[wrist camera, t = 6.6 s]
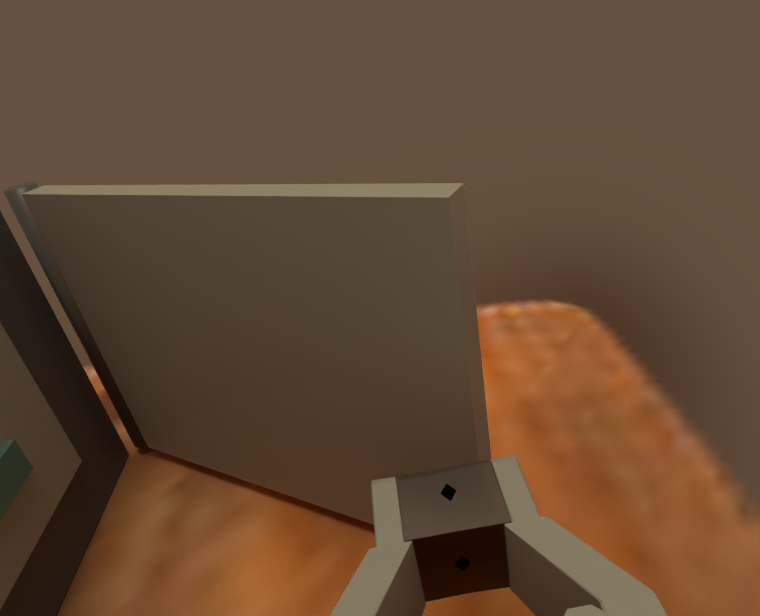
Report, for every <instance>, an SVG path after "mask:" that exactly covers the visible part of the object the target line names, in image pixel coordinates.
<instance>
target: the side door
mask: <svg viewBox="0 0 760 616" xmlns="http://www.w3.org/2000/svg"><path fill="white" fill-rule="evenodd" d="M3 193H4V195H5V196H6V199H7V200H8V202H9V204H10V206H11V208H12V210H13V212H14V214H15V216H16V218H17V220H18V222H19V224H20V226H21V227H22V229H23V231H24V233H25V235H26V237H27V239H28V241H29V243H30V245H31V247H32V249H33V251H34V253H35V255H36V257H37V258H38V260H39V262H40V264H41V266H42V268H43V270H44V272H45V274H46V276H47V278H48V280H49V281H50V284H51V286H52V288H53V289H54V291H55V293H56V295H57V297H58V299H59V301H60V303H61V305H62V307H63V309H64V311H65V312H66V314H67V316H68V318H69V320H70V322H71V324H72V326H73V328H74V330H75V332H76V334H77V336H78V338H79V340H80V342H81V344H82V346H83V347H84V349H85V351H86V353H87V355H88V357H89V359H90V361H91V363H92V365H93V367H94V369H95V371H96V373H97V375H98V377H99V378H100V380H101V382H102V384H103V386H104V388H105V390H106V392H107V394H108V396H109V398H110V400H111V402H112V404H113V406H114V407H115V409H116V411H117V413H118V415H119V417H120V419H121V421H122V423H123V425H124V427H125V429H126V431H127V433H128V435H129V436H130V438H131V440H132V442H133V444H134V446H135V447H145V446H148V448H151V449H154V450H157V451H160V452H163V453H166V454H169V455H172V456H175V457H178V458H180V459H183V460H186V461H189V462H192V463H195V464H198V465H201V466H204V467H207V468H210V469H212V470H215V471H218V472H221V473H224V474H227V475H230V476H233V477H236V478H239V479H242V480H244V481H247V482H250V483H253V484H256V485H259V486H262V487H265V488H268V489H271V490H274V491H276V492H279V493H282V494H285V495H288V496H291V497H294V498H297V499H300V500H303V501H306V502H308V503H311V504H314V505H317V506H320V507H323V508H326V509H329V510H332V511H335V512H338V513H340V514H343V515H346V516H349V517H352V518H355V519H358V520H361V521H364V522H367V523H370V524H372V525H374V517H373V505H372V492H371V484H372V480H377V479H384V478H390V477H396V476H400V475H406V474H413V473H419V472H425V471H432V470H438V469H442V468H447V467H452V466H457V465H462V464H468V463H473V462H478V461H483V460H490V459H491V451H490V441H489V431H488V421H487V411H486V401H485V391H484V381H483V371H482V361H481V351H480V341H479V331H478V321H477V311H476V302H475V291H474V281H473V271H472V262H471V251H470V242H469V233H468V232H469V231H468V223H467V222H468V221H467V211H466V201H465V191H464V184H463V183H451V184H450V183H449V184H448V183H446V184H445V183H441V184H440V183H438V184H437V183H435V184H434V183H433V184H267V185H266V184H255V185H254V184H250V185H248V184H246V185H73V186H71V185H66V186H64V185H63V186H42V187H39V188H38V186H37V184H36V182H27V183H23V184H19V185H16V186H13V187H10V188H7V189H5V190H4V191H3Z"/></svg>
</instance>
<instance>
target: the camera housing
mask: <svg viewBox="0 0 760 616" xmlns="http://www.w3.org/2000/svg"><path fill="white" fill-rule="evenodd" d="M128 455H129V454H128V452H127V450H126V448H125V446H124V444H123V442H122V440H121V439H120V437H119V435H118V433H117V431H116V429H115V427H114V425H113V423H112V422H111V420H110V418H109V416H108V414H107V412H106V410H105V408H104V406H103V404H102V403H101V401H100V399H99V397H98V395H97V393H96V391H95V389H94V387H93V386H92V384H91V382H90V380H89V378H88V376H87V374H86V372H85V370H84V369H83V367H82V365H81V363H80V361H79V359H78V357H77V355H76V353H75V352H74V350H73V348H72V346H71V344H70V342H69V340H68V338H67V337H66V334H65V333H64V331H63V329H62V327H61V325H60V323H59V321H58V319H57V318H56V316H55V314H54V312H53V310H52V308H51V306H50V304H49V302H48V300H47V299H46V297H45V295H44V293H43V291H42V289H41V287H40V285H39V283H38V282H37V280H36V278H35V276H34V274H33V272H32V270H31V268H30V266H29V265H28V263H27V261H26V259H25V257H24V255H23V253H22V251H21V249H20V247H19V246H18V244H17V242H16V240H15V238H14V236H13V234H12V232H11V230H10V229H9V227H8V225H7V223H6V221H5V219H4V217H3V215H2V213H1V211H0V616H56V614H57V612H58V610H59V608H60V605H61V603H62V601H63V599H64V597H65V594H66V592H67V590H68V588H69V585H70V583H71V581H72V579H73V577H74V574H75V572H76V570H77V568H78V566H79V563H80V561H81V559H82V557H83V554H84V552H85V550H86V548H87V546H88V543H89V541H90V539H91V537H92V535H93V532H94V530H95V528H96V526H97V523H98V521H99V519H100V517H101V515H102V512H103V510H104V508H105V506H106V504H107V501H108V499H109V497H110V495H111V492H112V490H113V488H114V486H115V484H116V481H117V479H118V477H119V475H120V473H121V470H122V468H123V466H124V464H125V461H126V459H127V457H128Z"/></svg>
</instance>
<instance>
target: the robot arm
mask: <svg viewBox="0 0 760 616" xmlns="http://www.w3.org/2000/svg"><path fill="white" fill-rule="evenodd" d="M371 492H372V505H373V517H374V530H375V543H376V547H374V548H370V549H368V551H367V553H366V554H365V556H364V558H363V559H362V561H361V563H360V565H359V566H358V568H357V570H356V571H355V573H354V575H353V577H352V578H351V580H350V582H349V583H348V585H347V587H346V589H345V590H344V592H343V594H342V595H341V597H340V599H339V601H338V602H337V604H336V606H335V607H334V609H333V611H332V613H331V614H330V616H422V614H423V611H424V609H425V606H426V603H425V602H428V601H433V600H437V599H442V598H447V597H452V596H457V595H461V594H466V593H473V592H479V591H486V590H493V589H500V588H506V587H510V589H511V590H512V591H513V592H514V593H515V594H516V595H517V596H518V597H519V598H520V600H521V601H522V602H523V603H524V604H525V605H526V606H527V607H528V608H529V609H530V610H531V611H532V612H533V613H534V614H535V615H536V616H667V615H666V613H665V611H664V609H663V607H662V605H661V604H660V602H659V600H658V598H657V596H656V595H655V593H654V591H652V590H651V589H649V588H648V587H647V586H645V585H644V584H642V583H641V582H640V581H638V580H637V579H635V578H634V577H633V576H631V575H630V574H628V573H627V572H625V571H624V570H623V569H621V568H620V567H618V566H617V565H616V564H614V563H613V562H611V561H610V560H609V559H607V558H606V557H604V556H603V555H602V554H600V553H599V552H597V551H596V550H595V549H593V548H592V547H590V546H589V545H588V544H586V543H585V542H583V541H582V540H581V539H579V538H578V537H576V536H575V535H574V534H572V533H571V532H569V531H568V530H567V529H565V528H564V527H562V526H561V525H560V524H558V523H557V522H555V521H554V520H552V519H551V518H550V517H540V514H539V512H538V509H537V507H536V505H535V502H534V500H533V497H532V495H531V492H530V490H529V487H528V485H527V483H526V480H525V478H524V475H523V473H522V470H521V468H520V466H519V463H518V461H517V458H516V457H515V456H514V455H510V456H504V457H499V458H494V459H490V460H483V461H478V462H473V463H468V464H462V465H457V466H452V467H447V468H442V469H438V470H432V471H425V472H419V473H413V474H406V475H400V476H396V477H390V478H384V479H377V480H372V484H371Z"/></svg>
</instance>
